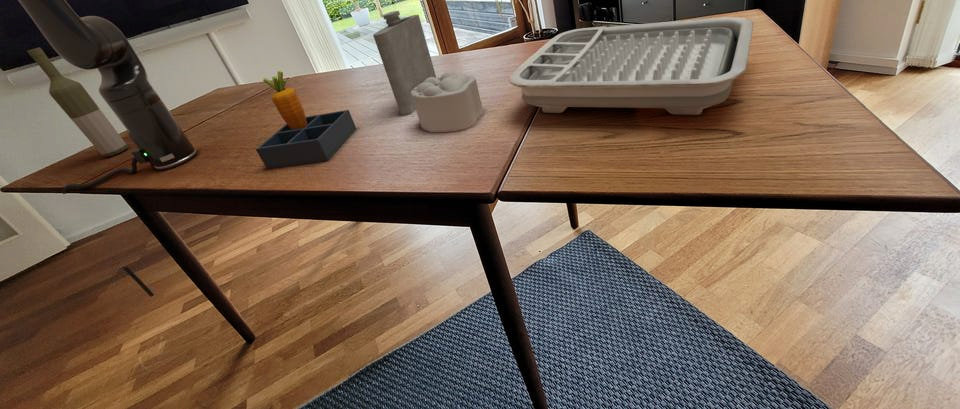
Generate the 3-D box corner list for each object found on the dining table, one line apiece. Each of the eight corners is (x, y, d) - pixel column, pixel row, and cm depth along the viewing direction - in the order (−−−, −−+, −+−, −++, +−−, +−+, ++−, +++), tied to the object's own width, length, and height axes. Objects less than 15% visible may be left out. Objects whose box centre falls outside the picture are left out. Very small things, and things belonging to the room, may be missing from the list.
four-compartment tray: (266, 168, 84) (255, 149, 81) (301, 137, 95) (292, 119, 93) (328, 160, 80) (318, 139, 78) (356, 128, 92) (348, 109, 89)
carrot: (290, 145, 90) (255, 79, 81) (301, 135, 94) (268, 71, 85) (310, 142, 88) (276, 74, 80) (320, 132, 92) (289, 67, 84)
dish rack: (736, 131, 57) (745, 75, 52) (505, 124, 76) (496, 82, 71) (749, 55, 77) (756, 10, 73) (564, 64, 96) (561, 29, 92)
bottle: (120, 147, 124) (40, 47, 107) (135, 146, 121) (56, 42, 105) (97, 159, 118) (9, 55, 102) (113, 158, 116) (26, 51, 99)
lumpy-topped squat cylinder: (468, 130, 77) (457, 86, 72) (411, 133, 82) (397, 92, 78) (487, 107, 85) (478, 66, 80) (433, 111, 90) (421, 72, 85)
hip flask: (409, 114, 92) (377, 20, 81) (394, 115, 94) (362, 23, 83) (441, 87, 103) (417, 1, 92) (428, 88, 105) (403, 4, 94)
